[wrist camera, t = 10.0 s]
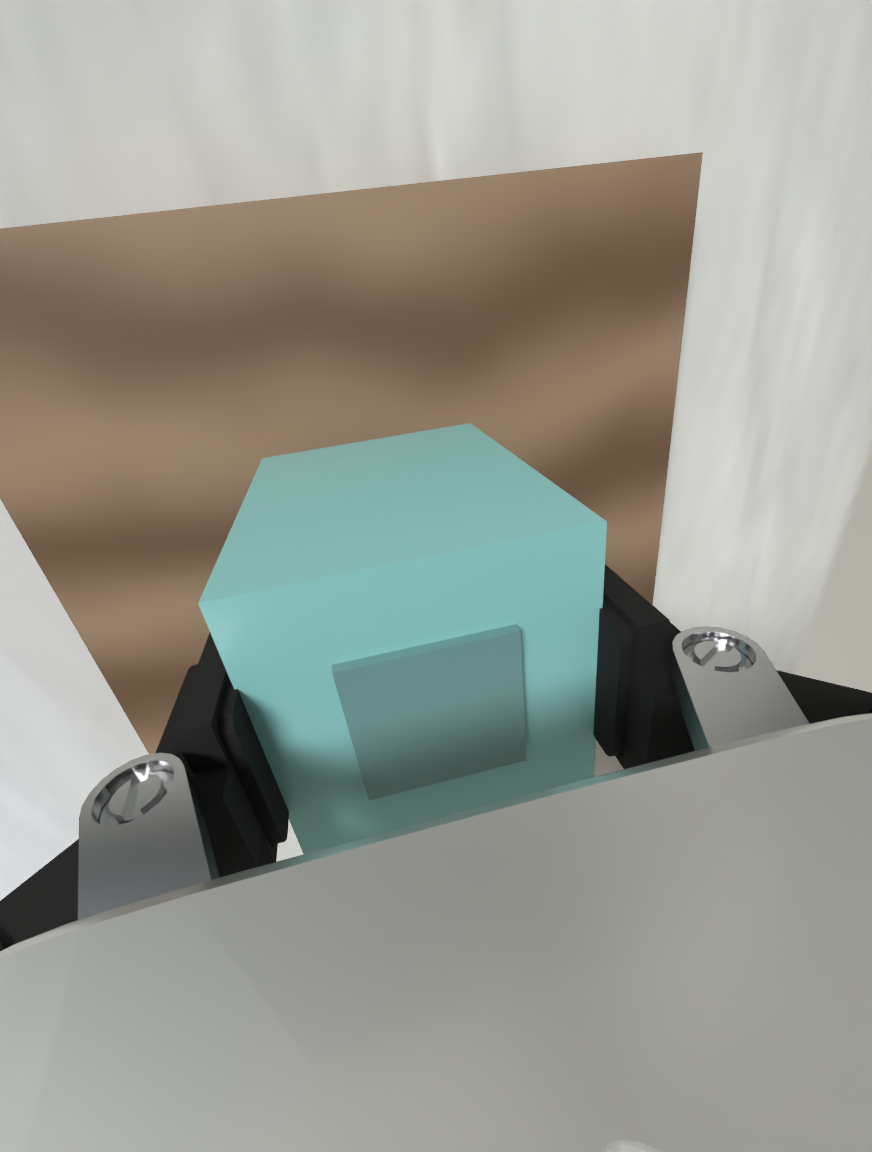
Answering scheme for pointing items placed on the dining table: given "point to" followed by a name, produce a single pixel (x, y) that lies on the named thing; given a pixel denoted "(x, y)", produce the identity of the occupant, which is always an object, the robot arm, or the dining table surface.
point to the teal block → (410, 629)
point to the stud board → (326, 371)
